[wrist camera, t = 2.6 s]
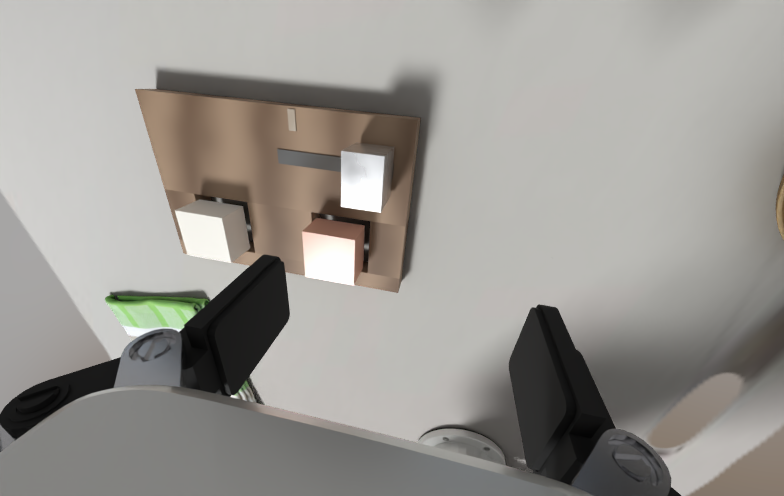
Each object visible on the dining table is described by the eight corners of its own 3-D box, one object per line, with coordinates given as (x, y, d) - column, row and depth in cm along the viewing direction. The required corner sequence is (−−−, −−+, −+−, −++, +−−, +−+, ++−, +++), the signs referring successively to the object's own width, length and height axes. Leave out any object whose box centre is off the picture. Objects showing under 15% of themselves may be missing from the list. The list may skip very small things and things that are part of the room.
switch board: (420, 117, 24) (417, 120, 22) (401, 281, 32) (397, 293, 30) (155, 89, 27) (133, 89, 25) (197, 245, 35) (182, 253, 33)
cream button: (243, 206, 29) (221, 218, 26) (250, 248, 31) (231, 263, 28) (199, 199, 29) (174, 210, 27) (209, 241, 31) (187, 254, 29)
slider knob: (394, 147, 23) (384, 156, 20) (390, 196, 25) (380, 212, 22) (356, 142, 23) (341, 150, 20) (355, 191, 25) (341, 206, 22)
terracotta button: (364, 225, 27) (355, 240, 24) (362, 268, 29) (353, 285, 27) (316, 217, 28) (302, 231, 25) (318, 260, 30) (305, 276, 27)
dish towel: (180, 398, 53) (164, 417, 50) (110, 292, 43) (83, 307, 40) (266, 407, 49) (254, 429, 46) (211, 293, 39) (190, 311, 36)
